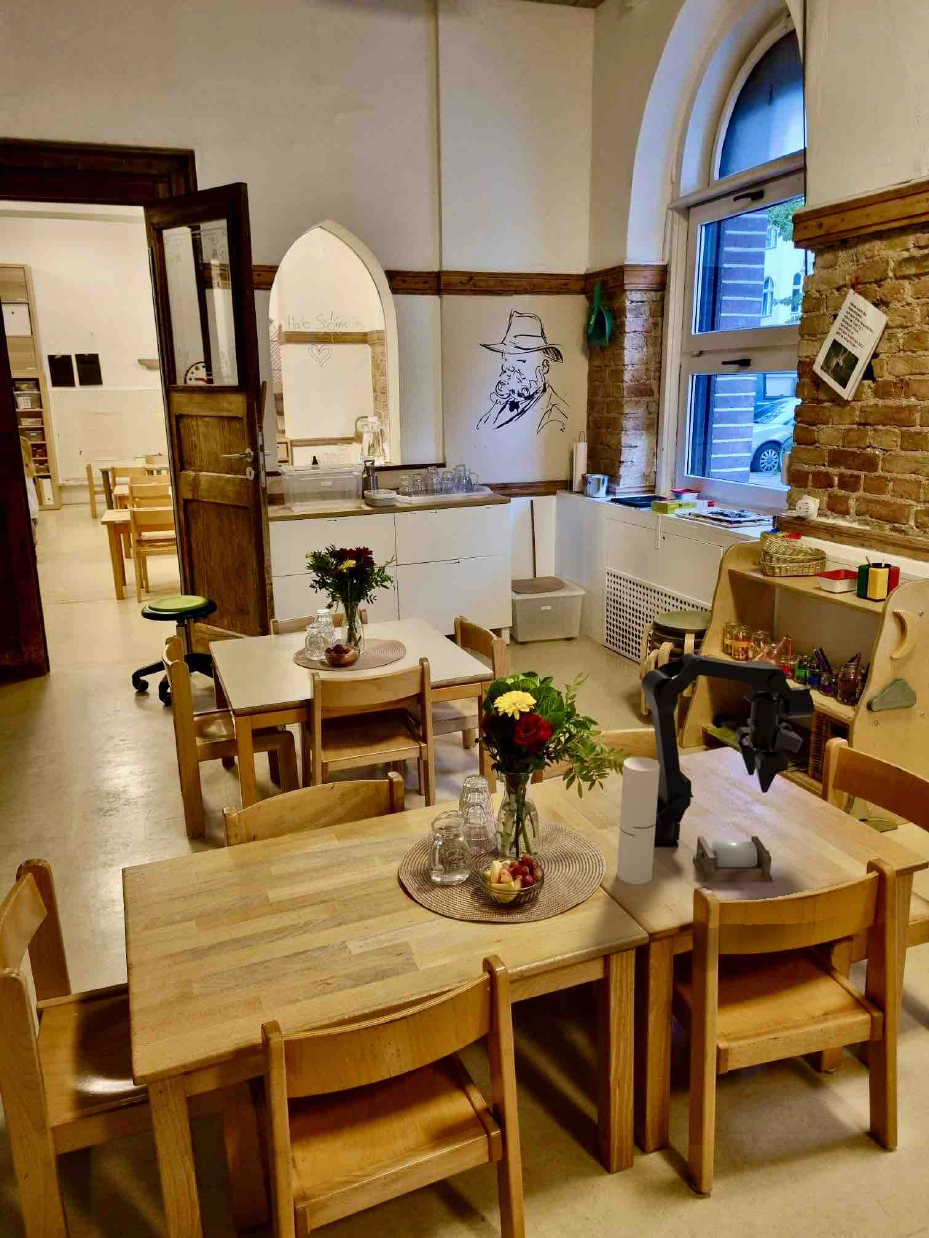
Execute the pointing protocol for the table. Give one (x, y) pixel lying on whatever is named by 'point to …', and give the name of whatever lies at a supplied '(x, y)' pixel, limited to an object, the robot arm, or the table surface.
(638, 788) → the cylindrical container
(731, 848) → the roll
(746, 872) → the holder
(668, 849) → the table surface
